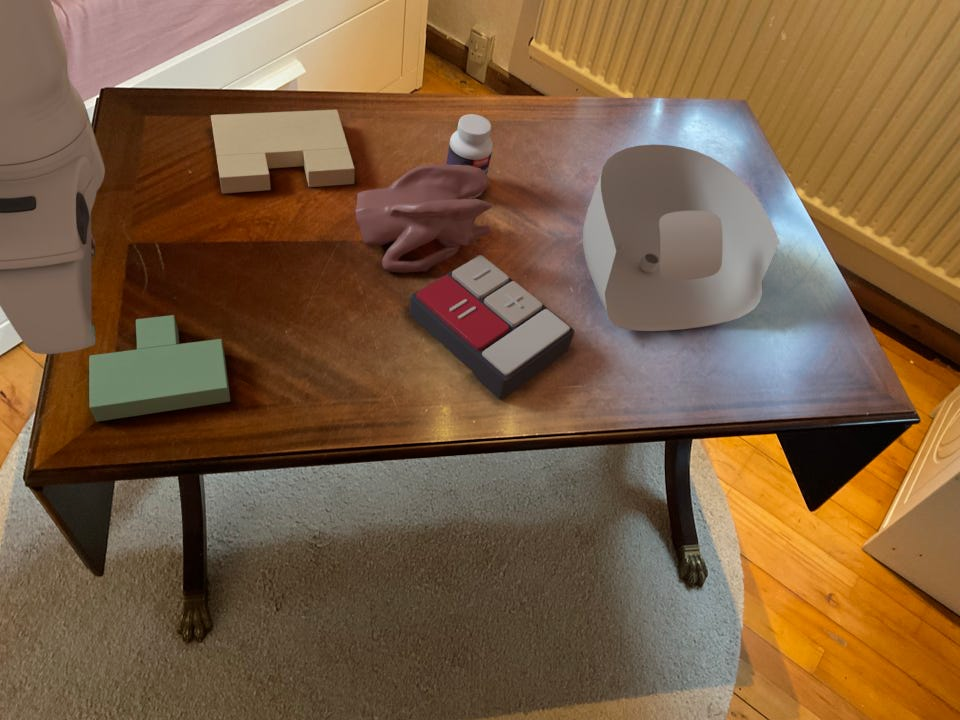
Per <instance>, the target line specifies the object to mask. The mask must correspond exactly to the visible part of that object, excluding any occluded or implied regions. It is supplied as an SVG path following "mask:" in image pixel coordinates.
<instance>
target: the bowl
mask: <svg viewBox="0 0 960 720" xmlns="http://www.w3.org/2000/svg"><path fill="white" fill-rule="evenodd" d="M779 244H780V239H779V238H778V235H777V231H776V229H775V227H774V225H773V223H772V221H771V219H770V217H769V215H768V213H767V211H766V210H765V207H764V206H763V205H762V203H761V202H760V200H759V199H758V197H757V195H756V194H755V193H754V192H753V191H752V190H751V188H750V187H749V186H748V185H747V184H746V183H745V182H744V181H743V180H742V179H741V178H740V177H739V175H737V174H736V173H735V172H734V171H732V170H731V169H730V168H729V167H727V166H726V165H725V164H723V163H721V162H720V161H718V159H717V160H716V159H715V158H714V157H712V156H710V155H707V154H705V153H703V152H699V151H697V150H693V149H691V148H686V147H682V146H676V145H669V144H642V145H636V146H631V147H627V148H624V149H622V150H619V151H617V152H615V153H613V154H612V155H611V156H610V157H609V158H607V160H606V162H605V163H604V165H603V166H602V168H601V172H600V174H599V177H598V179H597V183H596V185H595V188H594V190H593V194H592V196H591V200H590V202H589V205H588V208H587V211H586V215H585V219H584V223H583V228H582V248H583V253H584V259H585V263H586V265H587V269H588V272H589V274H590V278H591V280H592V282H593V285H594V288H595V290H596V292H597V295H598V297H599V299H600V301H601V303H602V306H603V308H604V309H605V313H606V315H607V317H608V319H609V321H610V322H611V324H612V325H614V326H615V327H617V328H620V329H623V330H626V331H627V330H628V331H638V332H657V331H658V332H662V331H663V332H664V331H676V330H687V329H688V330H689V329H695V328H702V327H709V326H714V325H719V324H723V323H726V322H730V321H734V320H737V319H740V318H742V317H744V316H746V315H748V314H749V313H751V312H752V311H753V310H755V309H756V307H757V306H758V305H759V303H760V301H761V299H762V294H763V287H762V286H763V284H762V283H763V280H764V278H765V275H766V273H767V270H768V269H769V266H770V264H771V262H772V259H773V257H774V255H775V253H776V251H777V249H778V246H779Z"/></svg>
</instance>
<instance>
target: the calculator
mask: <svg viewBox="0 0 960 720" xmlns="http://www.w3.org/2000/svg"><path fill="white" fill-rule="evenodd" d="M408 312H409V313H408V314H409V316H410V317H411V318H412V319H414V320H415V322H417V323H418V324H419V325H420V326H421V327H422V328H424V330H426V331H427V332H428V333H429V334H430V335H431V336H432V337H433V338H434V339H436V340H437V341H438V342H439V343H440V344H441V345H442V346H444V348H446V349H447V350H448V351H449V352H450V353H451V354H452V355H454V356H455V357H456V358H457V359H458V360H459V361H460V362H462V363H463V364H464V365H465V366H466V367H467V368H468V369H469V370H470V371H471V372H472V373H473V375H474V376H475V378H476V380H477V381H478V382H479V383H480V384H481V385H483V386H484V388H486V389H487V390H488V391H490V393H492V394H493V395H494V396H495V397H496V398H497V399H499V400H501V401H503V400H505V399H507V398H508V397H510V396H511V395H513V393H515V392H517V390H519V389H520V388H521V387H523V386H524V385H526V384H527V383H529V382H530V381H531V380H532V379H534V378H535V377H536V376H538V375H539V374H540V373H542V372H543V371H544V370H546V369H547V368H548V367H550V366H551V365H552V364H553V363H555V362H557V361H558V360H559V359H561V358H562V357H563V356H564V355H566V354H567V353H568V352H569V349H570V346H571V343H572V341H573V337H574V334H575V329H574V328H573V327H572V326H571V325H570V324H568V323H567V322H566V321H564V320H563V318H561V317H560V316H558V315H557V314H556V313H555V312H553V311H552V310H551V309H549V308H548V307H547V306H546V305H545V304H544V303H542V302H541V301H540V300H539V299H537V298H536V297H535V296H533V295H532V294H531V293H530V292H529V291H527V290H526V289H524V287H522V286H521V285H520V284H518V283H517V282H516V281H515V280H514V279H512V278H511V277H510V276H509V275H507V274H506V273H505V272H504V271H503V270H501V269H500V268H498V266H496V265H495V264H493V263H492V262H491V261H490V260H488V259H487V258H486V257H485V256H484V255H481V254H479V255H477V256H474V257H473V258H471V259H470V260H468V261H466V262H464V263H463V264H461V265H460V266H458V267H456V268H455V269H453V270H451V271H450V272H448V273H446V274H444V275H443V276H441V277H439V278H438V279H436V280H434V281H432V282H431V283H429V284H428V285H425V286H424V287H422V288H421V289H419V290H416V292H413V293H412V294H411V295H410V299H409V311H408Z"/></svg>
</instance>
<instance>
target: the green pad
mask: <svg viewBox="0 0 960 720" xmlns="http://www.w3.org/2000/svg"><path fill="white" fill-rule="evenodd" d="M135 333H136V337H135V338H136V349H131V350H123V351H116V352H107V353H100V354H99V353H98V354H91V355H89V356H88V357H89V359H88V363H89V365H88V367H89V368H88V370H89V371H88V373H89V374H88V375H89V377H88V379H89V380H88V385H89V386H88V388H89V389H88V390H89V391H88V392H89V393H88V395H89V396H88V397H89V399H88V400H89V401H88V402H89V403H88V404H89V406H88V407H89V410H90V412H91V414H92V416H93V418H94V420H95V422H104V421H110V420H117V419H123V418H124V419H125V418H131V417H137V416H144V415H149V414H157V413H158V414H159V413H163V412H164V413H165V412H170V411H177V410H183V409H190V408H195V407H197V408H198V407H203V406H208V405H209V406H210V405H216V404H223V403H228V402H231V395H230V387H229V379H228V372H227V371H228V370H227V362H226V355H225V349H224V344H223V340H222V338H215V339H208V340H200V341H194V342H186V343H185V342H184V343H180V335H179V334H180V333H179V328H178V324H177V320H176V317H175V315H174V314H171V315H163V316H153V317H144V318H136V319H135Z"/></svg>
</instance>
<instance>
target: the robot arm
mask: <svg viewBox="0 0 960 720" xmlns="http://www.w3.org/2000/svg"><path fill="white" fill-rule="evenodd" d="M68 60H69V55H68V49H67V45H66V42H65V38H64V36H63V32H62V29H61V26H60V24H59V21H58V17H57V15H56V12H55V9H54V6H53V4H52V1H51V0H0V309H1V310H2V312H3V313H4V316H5V317H6V318H7V320H8V321H9V323H10V325H11V327H13V330H14V331H15V332H16V334H17V335H18V337H19V338H20V340H21V341H22V342H23V344H24V345H25V346H26V347H27V348H28V349H29V351H31V352H33V353H35V354H39V355H55V354H56V355H57V354H65V353H66V354H67V353H71V352H77V351H81V350H85V349H87V348H90V347H93V346H95V345H96V327H95V326H94V322H93V320H92V259H93V258H94V257H95V256H96V251H95V250H96V241H95V239H94V236H93V234H92V210H93V208H94V204H95V201H96V198H97V193H98V191H99V190H100V188H101V186H102V185H103V183H104V179H105V175H106V167H105V163H104V160H103V157H102V154H101V151H100V150H101V149H100V147H99V144H98V141H97V138H96V135H95V132H94V129H93V126H92V122H91V119H90V115H89V113H88V109H87V107H86V104H85V102H84V100H83V98H82V96H81V94H80V93H79V91H78V90H77V89H76V87H75V86H74V84H73V83H72V81H71V79H70V76H69V72H68V64H69V63H68Z"/></svg>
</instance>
